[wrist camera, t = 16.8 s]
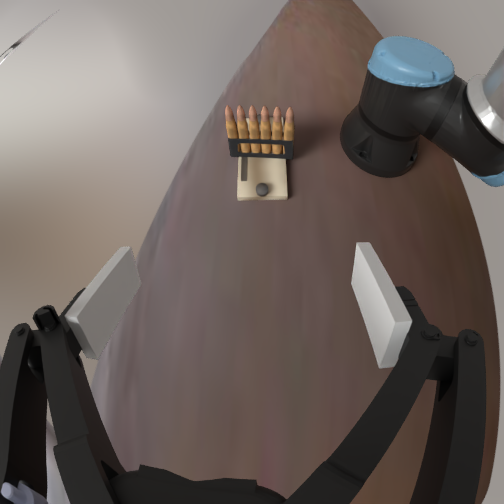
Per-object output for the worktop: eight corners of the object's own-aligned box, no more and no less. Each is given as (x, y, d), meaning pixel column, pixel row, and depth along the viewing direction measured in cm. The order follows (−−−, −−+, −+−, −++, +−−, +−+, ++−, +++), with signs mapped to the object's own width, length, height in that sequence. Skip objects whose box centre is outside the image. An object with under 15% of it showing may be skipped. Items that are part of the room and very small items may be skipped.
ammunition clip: (230, 156, 50) (219, 110, 38) (231, 148, 50) (221, 101, 39) (293, 159, 49) (297, 112, 37) (293, 150, 49) (297, 103, 38)
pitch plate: (282, 121, 53) (282, 113, 51) (287, 199, 48) (287, 193, 46) (240, 122, 53) (239, 115, 51) (238, 200, 49) (236, 194, 46)
